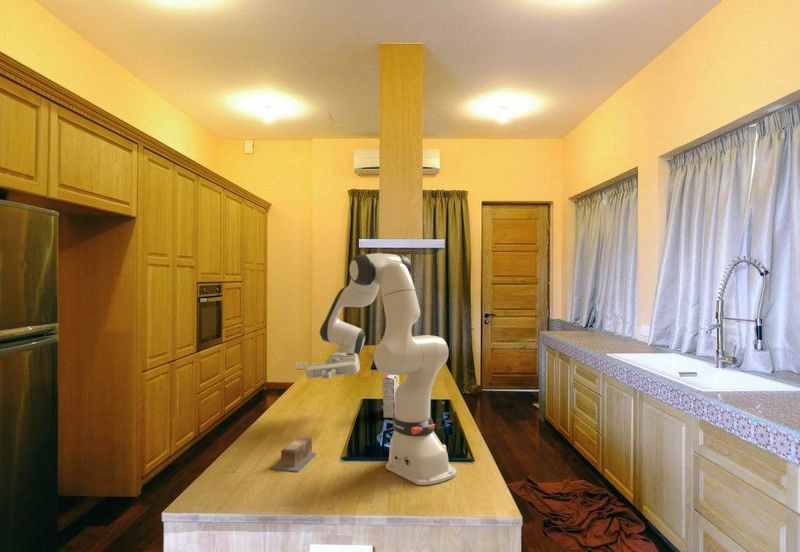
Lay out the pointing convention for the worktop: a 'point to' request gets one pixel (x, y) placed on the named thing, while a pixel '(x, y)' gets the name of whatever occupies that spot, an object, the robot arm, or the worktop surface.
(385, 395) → the candy bar box
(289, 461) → the block
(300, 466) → the mat
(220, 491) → the worktop surface
